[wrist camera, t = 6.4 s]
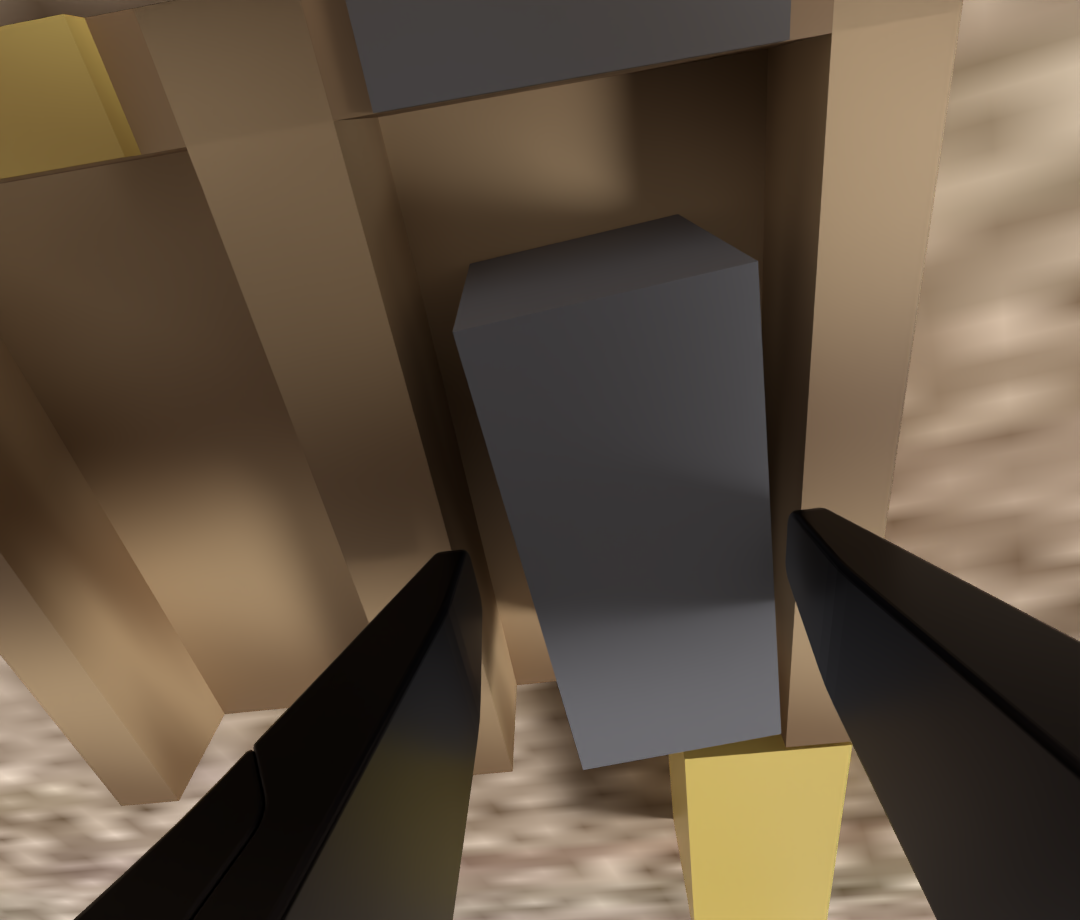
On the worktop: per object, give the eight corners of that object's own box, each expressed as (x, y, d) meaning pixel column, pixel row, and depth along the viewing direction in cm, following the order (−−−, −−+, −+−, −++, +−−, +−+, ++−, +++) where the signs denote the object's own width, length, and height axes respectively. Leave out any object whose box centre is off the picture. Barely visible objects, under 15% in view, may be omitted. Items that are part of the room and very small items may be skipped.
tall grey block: (718, 590, 12) (781, 733, 9) (566, 620, 12) (583, 769, 10) (677, 214, 9) (758, 260, 6) (469, 264, 9) (452, 332, 6)
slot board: (796, 621, 14) (861, 756, 11) (195, 682, 15) (112, 821, 12) (842, -75, 8) (1009, -173, 5) (-150, 114, 9) (-470, 119, 6)
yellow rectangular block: (780, 803, 18) (824, 936, 15) (672, 811, 18) (695, 943, 15) (791, 618, 14) (851, 744, 11) (658, 632, 14) (684, 759, 12)
